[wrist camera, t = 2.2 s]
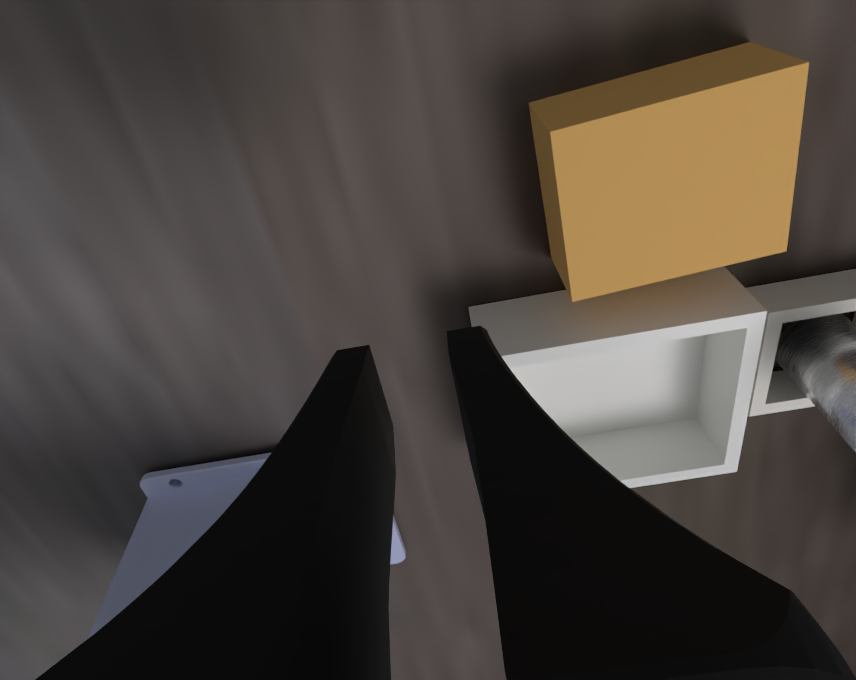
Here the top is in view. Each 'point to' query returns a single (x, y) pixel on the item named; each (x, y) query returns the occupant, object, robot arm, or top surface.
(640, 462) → the tray
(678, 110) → the block
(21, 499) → the top surface
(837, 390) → the pin
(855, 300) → the pin bracket
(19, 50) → the top surface
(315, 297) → the top surface
